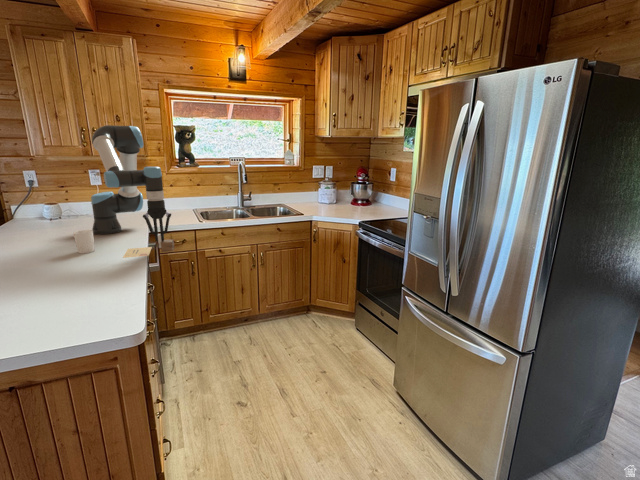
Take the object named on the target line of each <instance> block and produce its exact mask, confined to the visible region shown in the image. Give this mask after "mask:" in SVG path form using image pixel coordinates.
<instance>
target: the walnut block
mask: <svg viewBox="0 0 640 480" xmlns="http://www.w3.org/2000/svg"><path fill="white" fill-rule="evenodd" d="M174 241H175V240H174V239H164V241H162V242H161V248H160V249H161V253H165V252H166V253H167V252H173V251H174V250H175V242H174Z"/></svg>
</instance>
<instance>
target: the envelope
mask: <svg viewBox="0 0 640 480" xmlns="http://www.w3.org/2000/svg"><path fill="white" fill-rule="evenodd" d="M152 249H153V247H152V246H147V247H145V246H144V247H134V248H127V250H126V251H125V253H124V255H123V257H122V259H123V258H125V259H126V258H137V257H138V258H139V257H150V253H151V250H152Z"/></svg>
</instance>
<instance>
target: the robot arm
mask: <svg viewBox="0 0 640 480" xmlns="http://www.w3.org/2000/svg"><path fill="white" fill-rule="evenodd" d="M91 143H92V146H93V148H94V149H95V150H96V151H97V153H98V155H99V156H100V159H101V162H102V165H103V167H104V170H105V171H104V172H103V179H104V184H105V186H106V187H107V188H115V189H116V188H119V189H118V191H117V193H114V192H113V191H102V192H99V193H94V194H92V195H91V198H90V199H91V201H90V204H91V207H92V213H93V219H94V220H93V225H92V228H91V230H92V231H93V235H110V234H116V233H120V232H122V225H121V223H120V222H119V220H118V217H117V214H123V213H135V212H139V211H141V210H142V209H143V206H144V197H143V194H142V192H141V191H140V190H139V189H138V187H144V186H145V194H146V200H147V201H146V202H147V211H146V213H144V214H143V215H142V218H143V219H144V220H145V222H146V223H145V224H146V225H147V227H148V230H149V232H150V234H151V235H154V237H155V238H154V239H155V242H158V249H161V242H162V241H164V240H165V234H167V233H168V232H169V231H168V230H169V224H170V223H169V222H170V218H171V217H172V215H173V214H172V213H171V212H168V211H167V209H166V205H165V200H164V199H165V195H164V194H165V193H164V186H163V173H162V168H161V167H160V166H144V167H143V169H140V170H138V167H137V166H138V162H137V161H138V154H139V153H140V152H141V149H143V148H144V138H143V135H142V132H141V130H140V128H139V127H138V126H133V125H111V124H107V125H102V126H100V127H98V128H97V129H96V130H95V131H94V132H93V134H92V137H91ZM117 152H118V153H119V155H118V154H117ZM149 217H150V218H151V219H152V221H153V227H152V223H151V221H150V219H149ZM164 217H166V219H165V220H166V221H165V226H164V223H163V218H164ZM157 220H158V221H159V229H158V223H157V222H158V221H157ZM159 231H160V233H159Z"/></svg>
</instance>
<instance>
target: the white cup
mask: <svg viewBox="0 0 640 480" xmlns="http://www.w3.org/2000/svg"><path fill="white" fill-rule="evenodd" d="M73 236H74V241H75V245H76V248H77V252H78V253H79V254H89V253H93V252H95V239H94V237H95V236H94V234H93V231H92V229H80V230H76V231H74V232H73Z"/></svg>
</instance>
